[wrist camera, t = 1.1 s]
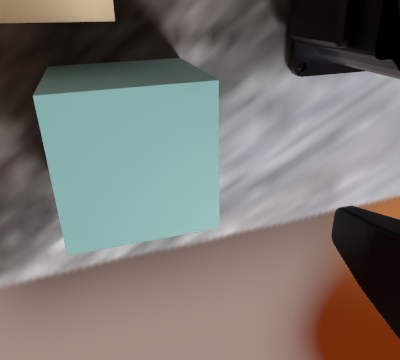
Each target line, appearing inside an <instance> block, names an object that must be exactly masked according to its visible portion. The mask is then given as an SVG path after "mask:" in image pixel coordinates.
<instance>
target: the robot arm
mask: <svg viewBox="0 0 400 360" xmlns="http://www.w3.org/2000/svg"><path fill="white" fill-rule="evenodd" d="M290 36H291V38H292V46H291V60H290V70H291V72H292V73H293V74H294V75H297V76H301V77H303V76H315V75H326V74H338V73H349V72H361V71H369V72H373V73H377V74H382V75H386V76H390V77H394V78H398V79H400V0H292V6H291V20H290ZM300 62H303V68H302V69H301V70H298V66H299V64H300ZM332 241H333V243H334V245H335V247H336V248H337V250H338V252H339V253H340V255H341V257H342V258H343V260H344V261H345V263H346V265H347V266H348V268H349V269H350V271H351V273H352V274H353V276H354V278H355V279H356V281H357V283H358V284H359V286H360V287H361V289H362V290H363V292H364V293H365V294H366V296H367V297H368V299H369V300H370V301H371V302H372V304H373V305H374V306H375V308H376V309H377V310H378V312H379V313H380V314H381V316H382V317H383V318H384V320H385V321H386V322H387V324H388V325H389V326H390V327H391V329H392V330H393V332H394V333H395V334H396V335H397V337H398V338H399V339H400V220H399V219H395V218H392V217H389V216H385V215H382V214H378V213H375V212H371V211H368V210H365V209H361V208H358V207H354V206H347V207H341V208H338V209H337V210H336V211H335V215H334V222H333V228H332Z"/></svg>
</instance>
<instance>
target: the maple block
mask: <svg viewBox="0 0 400 360" xmlns="http://www.w3.org/2000/svg"><path fill="white" fill-rule="evenodd" d="M105 21H115V15H114V4H113V0H0V23H46V22H105Z"/></svg>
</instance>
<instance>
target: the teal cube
mask: <svg viewBox="0 0 400 360" xmlns="http://www.w3.org/2000/svg"><path fill="white" fill-rule="evenodd" d="M33 99H34V104H35V108H36V113H37V118H38V122H39V127H40V131H41V136H42V141H43V145H44V150H45V155H46V159H47V164H48V168H49V173H50V178H51V182H52V187H53V191H54V196H55V201H56V205H57V210H58V214H59V219H60V224H61V228H62V233H63V237H64V242H65V247H66V251H67V255H72V254H78V253H83V252H89V251H94V250H100V249H106V248H111V247H117V246H122V245H128V244H133V243H139V242H145V241H150V240H156V239H161V238H167V237H172V236H178V235H183V234H189V233H195V232H200V231H206V230H211V229H217V228H219V80H217V79H216V78H214V77H212V76H210V75H209V74H207V73H205V72H204V71H202V70H200V69H198V68H197V67H195V66H193V65H191V64H190V63H188V62H186V61H184V60H183V59H181V58H169V59H154V60H140V61H125V62H110V63H96V64H81V65H66V66H51V67H47V69H46V71H45V73H44V75H43V77H42V79H41V81H40V82H39V84H38V86H37V88H36V90H35V92H34V94H33Z"/></svg>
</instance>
